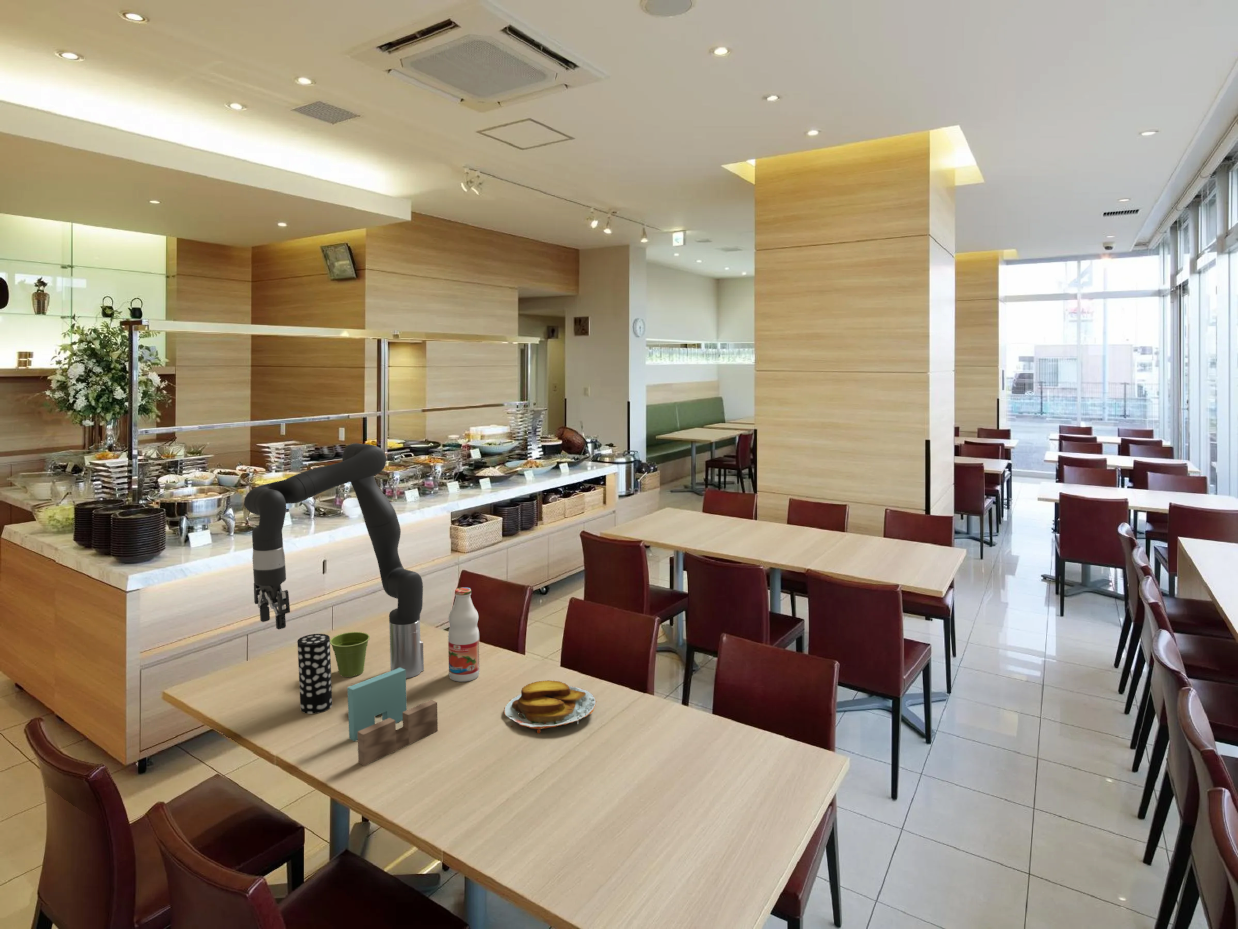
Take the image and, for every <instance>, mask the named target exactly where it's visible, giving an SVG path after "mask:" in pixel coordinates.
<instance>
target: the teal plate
mask: <svg viewBox="0 0 1238 929" xmlns="http://www.w3.org/2000/svg"><path fill="white" fill-rule="evenodd" d="M346 688H347V689H346V690H347V712H348V714H347V715H348V738H349V740H351V741H353V742H358V735H357V732H358V731H360V730H362V729H365V728H367V727H369V726H371V725H374V724H376V717H377V716H378V715H379V716H380V715H381V718H382V720H381V721H383V720H385V719H388V718H391V719H393V720H395V722H396V724H397V723H400V722H403V713H402V712H404V711H406V710H408V708H407V706H408V705H407V704H408V703H407V678H406V670H405V669H403V668H398V669H395V670H392V671H391V670H390V671H387V672H385V673H383V674H382V673H381V674H379V675H377V676H373V677H372V678H369V679H366V680H363V681H360V682H357V683H355V684H353V685H350V686H347V687H346Z"/></svg>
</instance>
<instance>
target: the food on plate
mask: <svg viewBox="0 0 1238 929" xmlns="http://www.w3.org/2000/svg"><path fill="white" fill-rule="evenodd" d="M596 704H597V700H596V697H595V696H594V695H593V693H592V692H590V691H588V690H586V689H583V688H581V687H576V686H573V685H568V684H566V682H565V683H564V682H563V681H559V680H550V679H549V680H538V681H534V682H531V683H527V684H526V685H524V686H523V687H522V688H521V692H520V694H517V695H516V696H515V697H514V696H513V698H512V699H509V701H508V703H507V704H505V707H503V709H504V710H503V714H504V716H506V717H507V718H509V719H510V720H513V721H514V722H516V723H517V724H519V726H522V727H528V728H529V729H534V730H536V733H537V734H540V733H541V729H548V728H556V727H558V726H562V725H564V726H565V725H568V724H571V723H574V722H576V723H577V725H579V721H580V720H582V719H583V718H586V717H588V716H589V715H592V713H593V712H594V711H595V707H597V706H596ZM518 713H520V714H519V715H522V717H523V716H524V717H523V718H521V717H520V716H519V715H518ZM518 716H519V717H518ZM510 727H511V728H512V727H513V725H510Z"/></svg>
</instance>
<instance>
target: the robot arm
mask: <svg viewBox="0 0 1238 929" xmlns="http://www.w3.org/2000/svg"><path fill="white" fill-rule="evenodd" d="M386 464H387V455H386V453H385V452H384V450H383V449H382V448H381V447H379V446H377V445H374V444H368V443H367V444H366V443H357V442H356V443H351V444H349V445H347V446H346V447H345V449H344V450H343V453H342V461H339V462H336V463H333V464H329V465H323V466H319V467H315V468H310V469H307V470H305V471H301V472H300V473H296V474H295V475H292V476H290V477H288V478H285V479H282V480H277V481H274V482H269V483H265V484H262V485H259V486H256V487H254V488H252V489H251V490H249V492H247V494H246V495H245V497H244V503H243V504H244V507H245V510H247V511H248V512H249V513H251V514H253V515H255V516H256V515H258V516H259V520H258V525H256V526H254V527H253V529H252V531H251V538H252V541H251V542H252V557H251V558H252V559H251V560H252V570H253V598H254V599H253V600H254V602H253V603H254V604H255V605H257V607H258V609H259V618H260V622H262V623H265V622H268V621H270V620H271V616H270V614H271V613H270V608H271V609H272V610H273V612H274V614H275V615H274V616H275V627H276V628H275V629H277V630H282V629H285V628H286V627H287V625H286V624H287V622H286V620H287V619H286V614H289V613H291V608H290V606H291V605H290V596H289V591H288V589H285V590H282V583H285V581H286V580H287V571H286V570H287V569H286V557H285V556H286V555H285V550H284V543H283V542H284V541H283V528H284V525H285V524H284V523H285V518H286V513H287V505H288V504H298V503H301V502H303V501H305V500H307V499H311V498H312V497H314V496H315V497H316V496H317V495H319V494H321V493H324V492H326V491H328V490H331V489H333V488H336V487H339V486H341V485H344V484H345V485H346V484H347V483H350V484H351V486H352V488H353V491H354V493H355V495H356V499H357V502H358V505H359V509H360V511H361V514H362V516H363V517H362V518H363V519H364V524H365V528H366V529H367V533H368V536H369V539H370V541H371V545H372V548H373V550H374V554H375V557H376V561H377V565H378V570H379V574H380V579H381V580H380V581H381V584H382V588H383V590H384V592H385V594H386V595H388V596H389V597H391V598H393V599H397V608H394V609H392V610H391V611H389V615H388V622H389V654H390V655H389V656H390V658H389V659H390V661H389V662H390V671H392V670H395V669H398V668H403V669H405V670H406V679H409V678H413V677H416V676H418V675H420V673H421V672H422V671H424V670H425V667H424V666H425V664H424V662H425V661H424V659H425V658H424V642H423V641H422V640H421V613H422V609H423V604H424V603H423V599H424V598H423V596H424V584H423V579H422V577H421V575H420V574H419V573H418V572H416V571H413V570H410V569H405V568H404V567H403V564H402V562H401V561H402V560H401V558H400V556H399V550H398V548H399V543H400V539H401V526H400V522H399V519H398V515H397V512H396V510H395V508H394V506H393V505H392V503H391V502H390V500H389V499H388V498H387V497H386V495H385V494H384V493H383V492H382V490H381V489H380V487H379V486H378V484H377V482H376V479H375V477H374V476H377V475H379V474H381V472H383V470H384V469H385V467H386Z"/></svg>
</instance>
